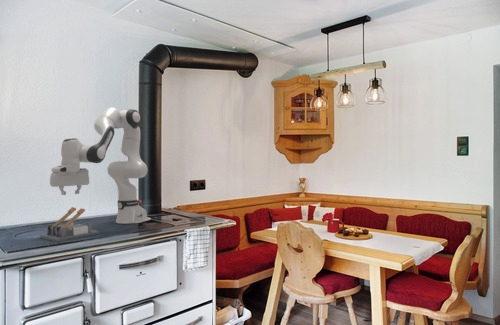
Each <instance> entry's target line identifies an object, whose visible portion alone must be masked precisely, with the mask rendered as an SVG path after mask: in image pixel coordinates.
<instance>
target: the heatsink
mask: <svg viewBox="0 0 500 325" xmlns="http://www.w3.org/2000/svg"><path fill="white" fill-rule="evenodd" d="M63 225H64V224H59V225H58V227H59V226H60V227H62V226H63ZM85 233H88V226H87V225H83V224H79V223H77V224H75V225H74V223H73V222H72V223H71V224H70V225H69V226H68V227H67V228H66V234H68V235H73V236H75V235H80V234H85Z"/></svg>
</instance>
